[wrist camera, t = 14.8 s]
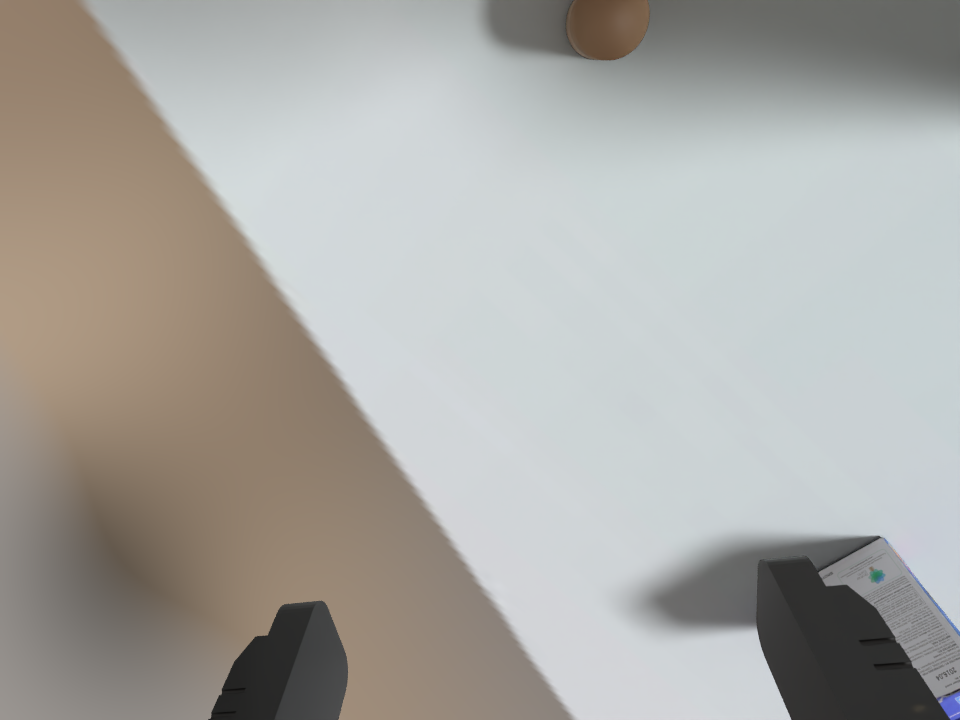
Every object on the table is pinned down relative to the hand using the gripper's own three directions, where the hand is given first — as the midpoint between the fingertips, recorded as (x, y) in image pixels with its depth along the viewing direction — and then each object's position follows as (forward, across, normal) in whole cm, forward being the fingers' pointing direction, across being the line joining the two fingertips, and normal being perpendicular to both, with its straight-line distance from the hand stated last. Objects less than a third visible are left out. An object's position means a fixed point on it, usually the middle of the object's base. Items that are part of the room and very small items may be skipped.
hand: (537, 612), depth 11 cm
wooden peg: (+30, -6, -10) cm, 32 cm away
